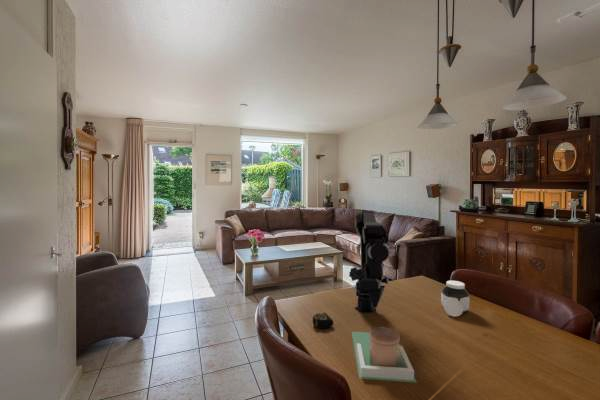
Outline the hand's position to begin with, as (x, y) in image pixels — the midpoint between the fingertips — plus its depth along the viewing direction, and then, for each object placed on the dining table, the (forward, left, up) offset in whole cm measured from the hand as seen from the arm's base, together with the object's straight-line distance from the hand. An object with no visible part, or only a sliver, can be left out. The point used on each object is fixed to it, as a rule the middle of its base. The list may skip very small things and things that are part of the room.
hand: (375, 307), depth 98 cm
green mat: (+7, +7, -11) cm, 14 cm away
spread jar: (-44, +8, -11) cm, 46 cm away
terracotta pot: (+10, +11, -11) cm, 18 cm away
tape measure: (+7, -18, -11) cm, 22 cm away
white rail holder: (+10, +10, -11) cm, 18 cm away
